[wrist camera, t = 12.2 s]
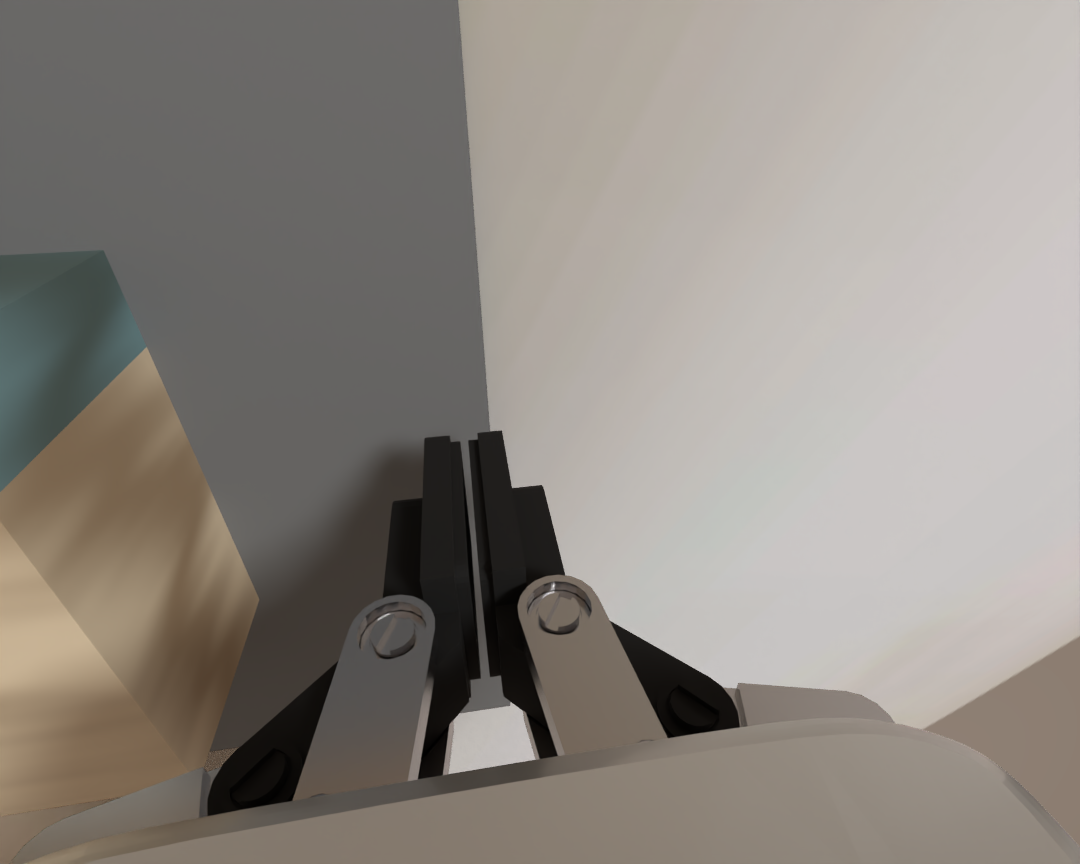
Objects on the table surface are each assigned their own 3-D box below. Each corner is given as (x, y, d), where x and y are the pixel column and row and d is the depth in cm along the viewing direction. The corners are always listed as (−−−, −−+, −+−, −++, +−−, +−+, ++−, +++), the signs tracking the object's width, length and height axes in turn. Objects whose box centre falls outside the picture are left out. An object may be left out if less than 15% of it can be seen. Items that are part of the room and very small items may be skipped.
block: (103, 250, 10) (259, 599, 16) (-137, 262, 10) (110, 617, 16) (-112, 372, 6) (198, 784, 12) (-535, 403, 6) (-7, 817, 12)
